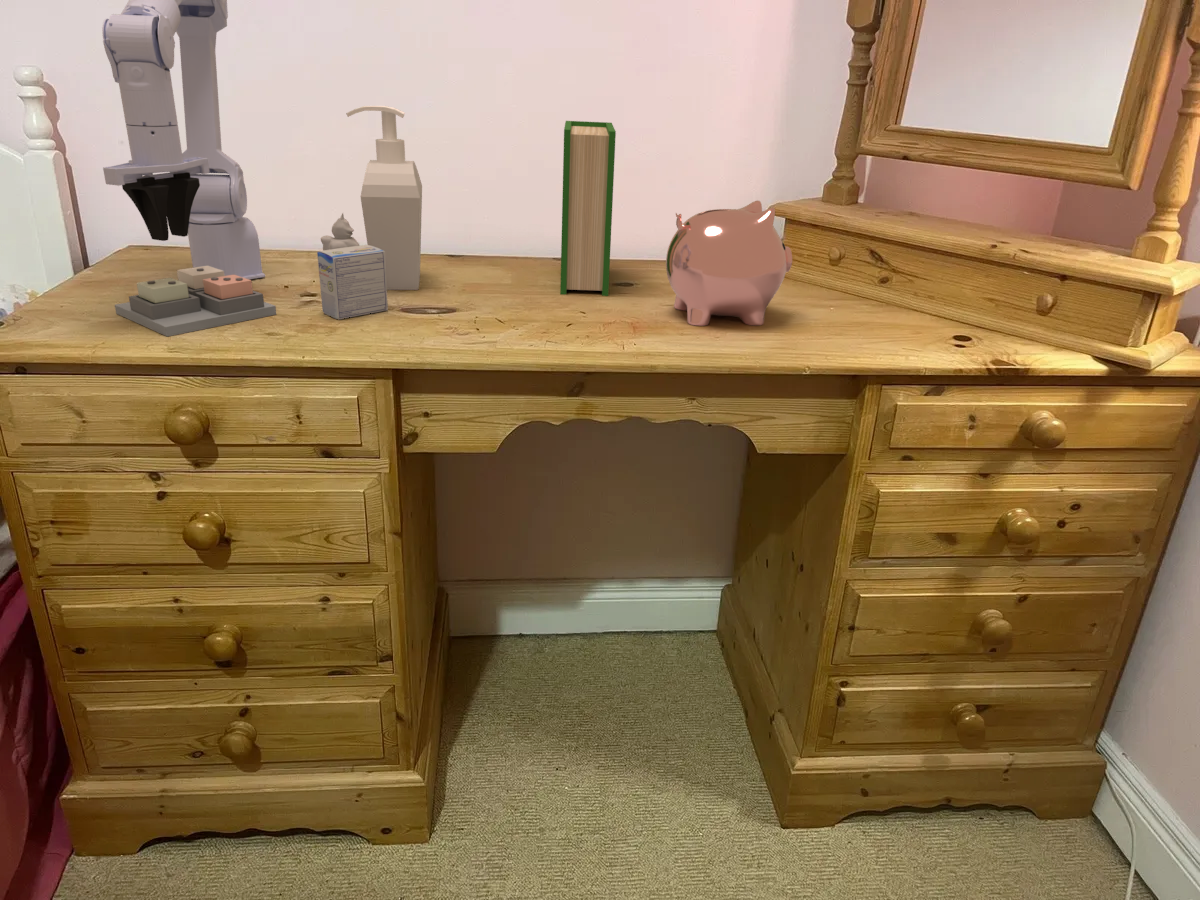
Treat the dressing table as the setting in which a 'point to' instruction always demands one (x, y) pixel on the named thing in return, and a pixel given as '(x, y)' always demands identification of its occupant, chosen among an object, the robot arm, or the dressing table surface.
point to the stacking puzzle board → (194, 311)
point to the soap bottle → (393, 204)
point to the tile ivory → (198, 275)
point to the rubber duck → (339, 236)
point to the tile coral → (227, 286)
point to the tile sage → (162, 290)
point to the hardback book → (587, 205)
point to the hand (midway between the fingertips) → (170, 237)
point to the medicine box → (352, 281)
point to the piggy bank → (727, 264)
